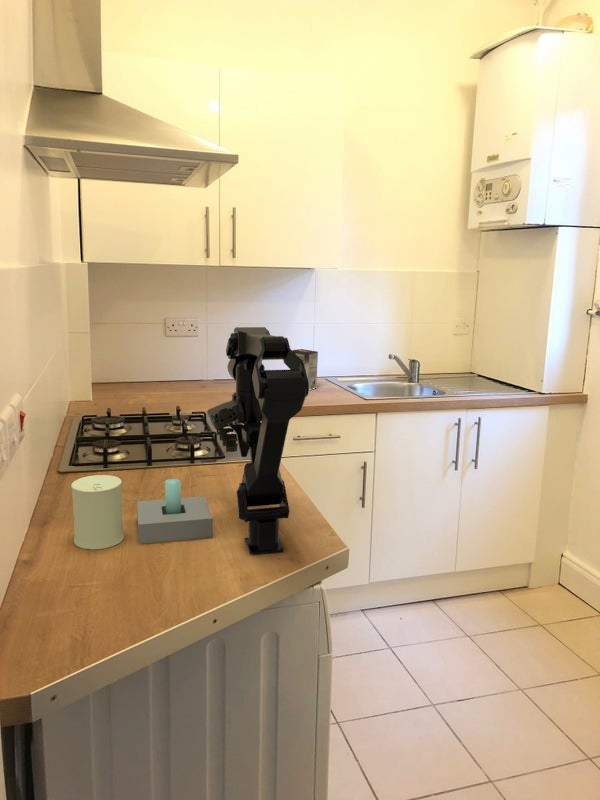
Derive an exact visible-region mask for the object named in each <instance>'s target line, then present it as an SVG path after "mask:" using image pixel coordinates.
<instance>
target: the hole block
mask: <svg viewBox="0 0 600 800" xmlns="http://www.w3.org/2000/svg"><path fill="white" fill-rule="evenodd" d="M136 513H137V514H136V515H137V535H138V545H142V544H155V543H165V542H167V543H169V542H176V541H188V540H199V539H211V538H213V516H212V513H211V511H210V508H209V505H208V502H207V499H206V496H205V495H204V496H191V497H181V513H180V514H167V515H166V498H164V499H162V498H161V499H153V500H152V499H151V500H139V501H138V500H137V501H136Z"/></svg>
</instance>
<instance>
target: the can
mask: <svg viewBox="0 0 600 800" xmlns="http://www.w3.org/2000/svg"><path fill="white" fill-rule="evenodd" d="M70 487H71V493H72V495H71V496H72V509H73V510H72V512H73V525H74V526H73V528H74V530H73V531H74V532H73V533H74V539H73V542H74V544H75V546H76V547H78V548H80V549H83V550H103V549H108V548H111V547H114V546H117V545H118V544H119V543H122V541H123V540H124V537H125V534H124V526H123V503H122V479H120V478H119V477H118V476H114V475H110V474H109V475H108V474H97V475H95V474H94V475H88V476H83V477H80V478H77V479H76V480H74V481H73V482H72V483H71V485H70Z"/></svg>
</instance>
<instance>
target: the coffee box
mask: <svg viewBox="0 0 600 800" xmlns="http://www.w3.org/2000/svg"><path fill="white" fill-rule="evenodd" d="M291 350H292V351H293V352H294V353H295V354H296V355H297V356H298V357H299V358H300V359H301V360H302V361H303V363H304V366H305V370H306V374H307V378H308V383H309V389H313V388H316V389H317V385H318V384H317V383H318V381H317V379H318V361H319V360H318V359H319V358H318V357H319V355H318V354H319V351H316V350H311V349H303V348H300V349H298V348H297V349H291Z"/></svg>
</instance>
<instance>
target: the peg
mask: <svg viewBox="0 0 600 800" xmlns="http://www.w3.org/2000/svg"><path fill="white" fill-rule="evenodd" d="M164 486H165V488H164V489H165V490H164V491H165V493H164V494H165V499H166V515H167V514H180V513H181V498H182V496H181V495H182V494H181V493H182V492H181V491H182V490H181V487H182V486H181V480H180V479H178V478H169V479H167V480H165V481H164Z"/></svg>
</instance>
